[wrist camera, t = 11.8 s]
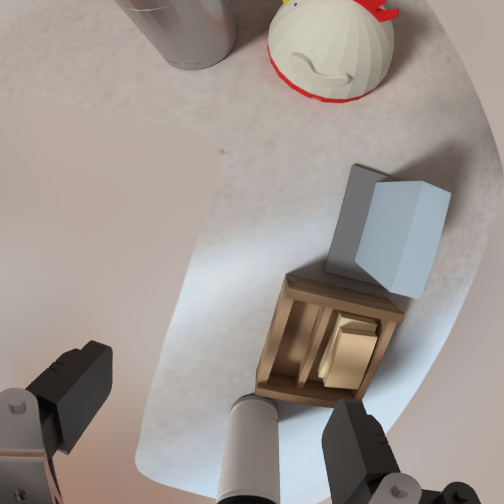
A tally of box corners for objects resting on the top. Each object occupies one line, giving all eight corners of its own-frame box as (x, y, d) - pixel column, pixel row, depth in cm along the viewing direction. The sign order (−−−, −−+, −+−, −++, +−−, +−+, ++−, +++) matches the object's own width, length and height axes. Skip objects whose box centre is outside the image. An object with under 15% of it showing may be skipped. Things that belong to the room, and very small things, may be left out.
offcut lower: (338, 311, 34) (341, 317, 33) (373, 319, 35) (377, 324, 33) (316, 370, 36) (318, 377, 34) (349, 375, 36) (352, 382, 35)
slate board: (376, 182, 32) (422, 180, 21) (399, 190, 32) (451, 193, 21) (354, 261, 34) (390, 292, 23) (377, 267, 34) (420, 299, 23)
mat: (352, 165, 32) (353, 164, 32) (421, 190, 32) (423, 190, 32) (323, 270, 35) (324, 271, 34) (392, 287, 35) (394, 289, 34)
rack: (285, 274, 35) (288, 287, 30) (388, 299, 35) (404, 314, 30) (256, 371, 38) (254, 394, 33) (351, 388, 38) (360, 411, 33)
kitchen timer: (293, -10, 28) (303, -89, 14) (395, 35, 29) (450, -25, 14) (249, 74, 31) (237, 4, 16) (363, 123, 31) (425, 85, 17)
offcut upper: (339, 326, 33) (342, 332, 32) (373, 331, 33) (377, 337, 32) (322, 379, 35) (324, 386, 33) (355, 382, 34) (358, 389, 33)
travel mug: (287, 402, 38) (296, 528, 19) (263, 432, 40) (259, 551, 20) (245, 385, 38) (230, 514, 18) (223, 417, 39) (200, 537, 20)
